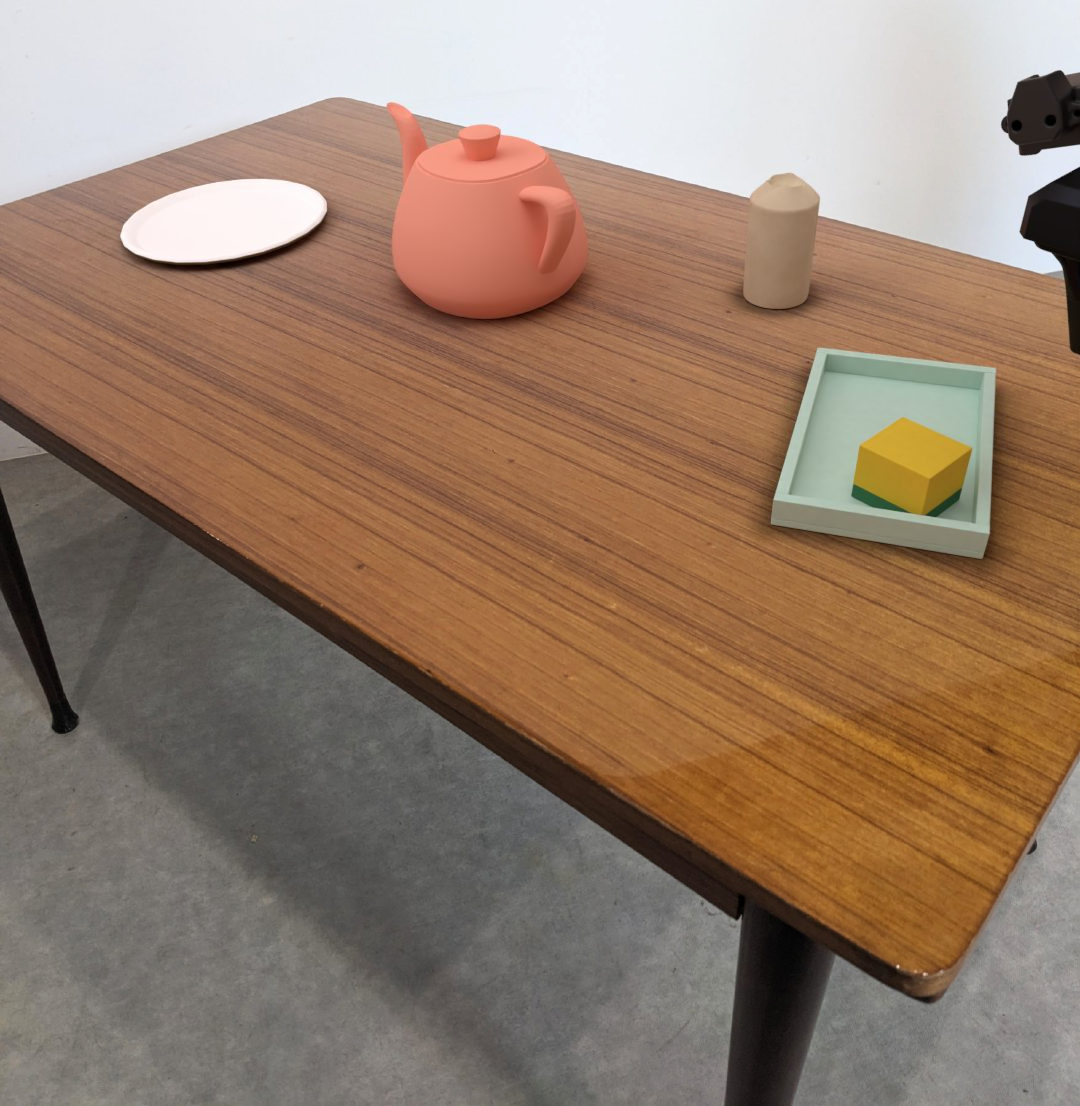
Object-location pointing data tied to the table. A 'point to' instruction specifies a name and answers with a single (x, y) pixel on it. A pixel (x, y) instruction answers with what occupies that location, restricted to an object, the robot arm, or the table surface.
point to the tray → (863, 411)
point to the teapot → (484, 223)
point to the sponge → (910, 469)
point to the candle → (780, 242)
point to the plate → (224, 221)
